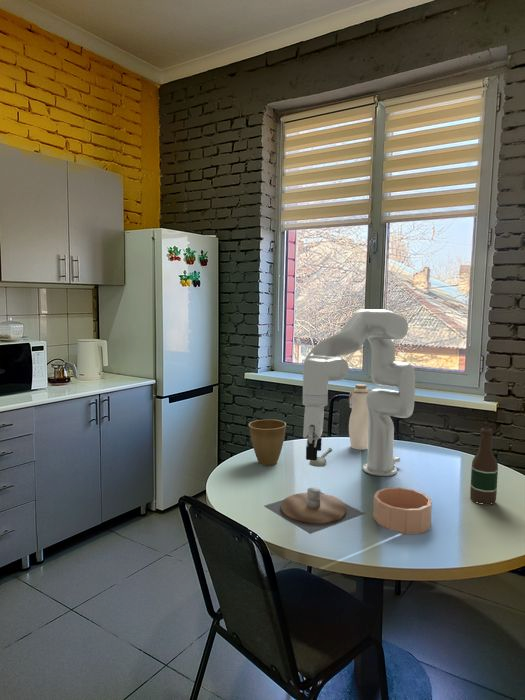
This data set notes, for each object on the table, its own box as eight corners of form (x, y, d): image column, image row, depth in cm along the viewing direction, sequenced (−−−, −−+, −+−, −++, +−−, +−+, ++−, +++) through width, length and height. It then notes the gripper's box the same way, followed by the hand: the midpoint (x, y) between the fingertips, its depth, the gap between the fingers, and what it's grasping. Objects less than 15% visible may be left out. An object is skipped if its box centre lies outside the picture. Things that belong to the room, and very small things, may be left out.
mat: (316, 491, 164) (316, 489, 164) (364, 515, 146) (365, 513, 146) (263, 507, 151) (263, 505, 151) (310, 535, 133) (310, 533, 133)
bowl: (397, 504, 153) (398, 483, 153) (441, 523, 140) (442, 500, 140) (362, 518, 144) (363, 495, 143) (406, 539, 131) (407, 515, 130)
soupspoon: (307, 468, 190) (323, 471, 187) (307, 460, 189) (323, 463, 187) (323, 450, 210) (337, 452, 207) (323, 442, 209) (338, 445, 207)
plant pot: (269, 454, 203) (269, 417, 201) (293, 463, 191) (293, 424, 190) (241, 461, 193) (241, 423, 192) (264, 472, 182) (264, 430, 180)
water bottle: (355, 451, 207) (357, 387, 204) (342, 446, 215) (344, 384, 212) (374, 448, 211) (375, 385, 208) (361, 443, 219) (362, 382, 216)
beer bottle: (494, 497, 159) (498, 426, 157) (497, 507, 152) (501, 433, 149) (469, 494, 162) (472, 424, 159) (470, 503, 154) (474, 430, 152)
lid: (315, 491, 162) (316, 473, 162) (360, 512, 146) (360, 493, 146) (268, 506, 151) (268, 486, 150) (310, 531, 135) (311, 509, 134)
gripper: (307, 393, 154) (306, 446, 156) (297, 404, 137) (296, 462, 139) (330, 395, 152) (329, 447, 154) (324, 406, 135) (322, 465, 137)
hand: (313, 454), depth 146 cm, fingers open, 9 cm apart
